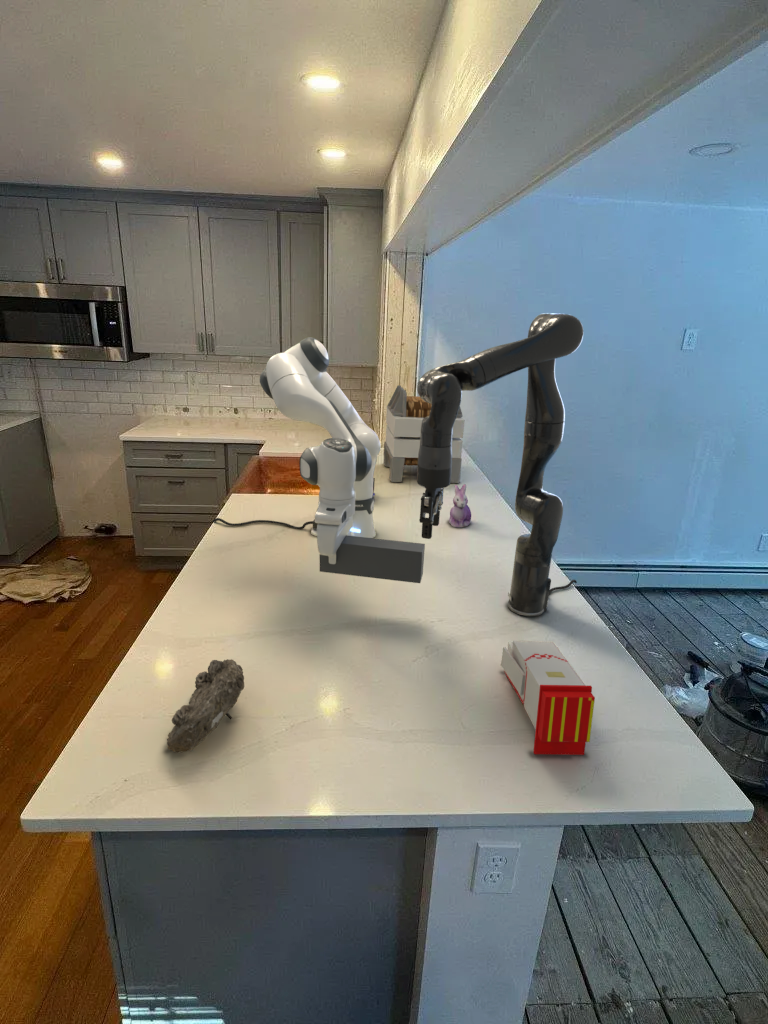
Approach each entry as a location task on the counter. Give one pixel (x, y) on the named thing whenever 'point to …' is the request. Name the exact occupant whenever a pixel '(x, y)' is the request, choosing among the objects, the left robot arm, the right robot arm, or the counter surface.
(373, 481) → the figurine character
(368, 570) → the bar
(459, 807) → the counter surface
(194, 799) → the counter surface
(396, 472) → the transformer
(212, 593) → the counter surface
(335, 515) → the left robot arm
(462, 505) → the figurine
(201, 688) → the fossil
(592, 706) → the toy
